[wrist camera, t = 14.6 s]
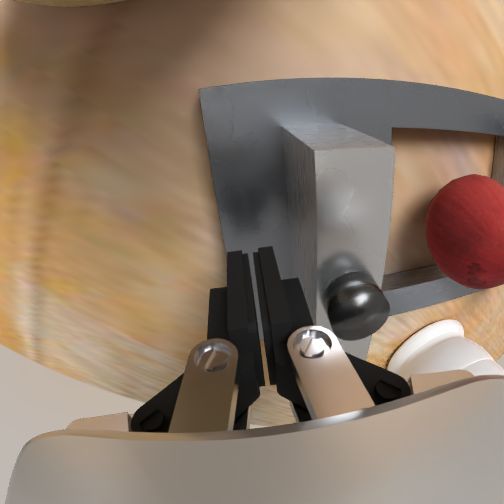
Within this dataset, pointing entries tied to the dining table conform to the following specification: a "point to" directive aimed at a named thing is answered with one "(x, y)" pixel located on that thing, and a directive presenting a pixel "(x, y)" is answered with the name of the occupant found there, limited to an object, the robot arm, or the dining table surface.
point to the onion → (468, 231)
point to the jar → (442, 352)
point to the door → (340, 226)
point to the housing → (325, 111)
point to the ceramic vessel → (69, 2)
